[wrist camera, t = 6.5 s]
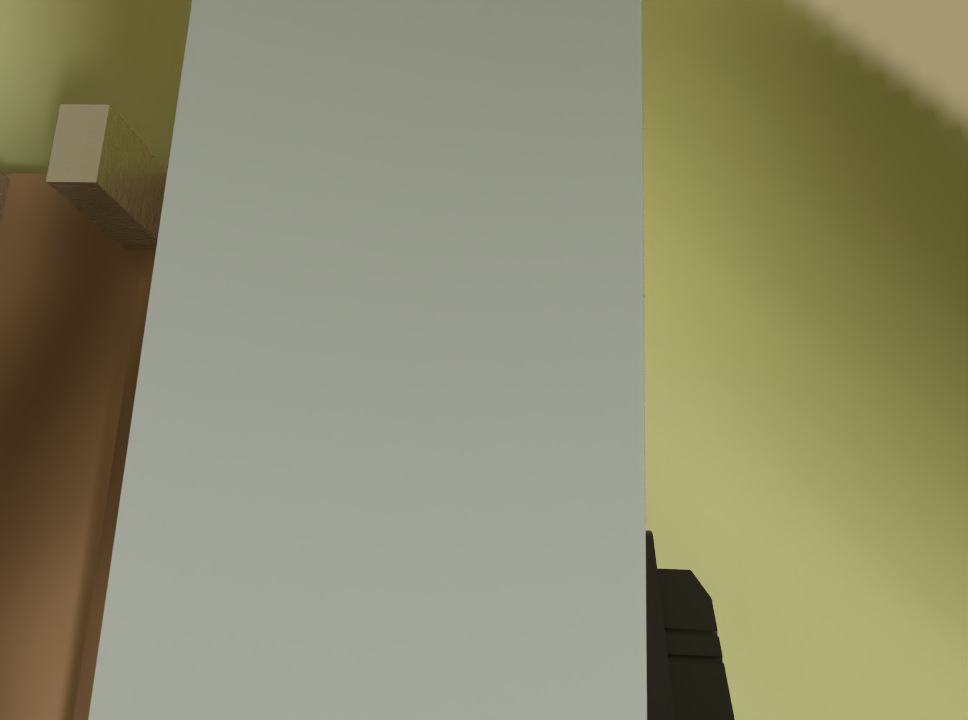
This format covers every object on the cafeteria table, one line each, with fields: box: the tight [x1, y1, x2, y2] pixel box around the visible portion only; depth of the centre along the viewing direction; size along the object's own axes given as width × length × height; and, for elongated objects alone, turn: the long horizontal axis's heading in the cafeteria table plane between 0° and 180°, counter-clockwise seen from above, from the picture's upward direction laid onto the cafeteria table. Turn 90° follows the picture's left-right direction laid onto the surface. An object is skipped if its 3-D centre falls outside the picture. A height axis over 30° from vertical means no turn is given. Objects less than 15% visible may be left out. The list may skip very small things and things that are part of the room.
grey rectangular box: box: [88, 0, 647, 720], centre depth 14 cm, size 4×11×14 cm, turn 178°
